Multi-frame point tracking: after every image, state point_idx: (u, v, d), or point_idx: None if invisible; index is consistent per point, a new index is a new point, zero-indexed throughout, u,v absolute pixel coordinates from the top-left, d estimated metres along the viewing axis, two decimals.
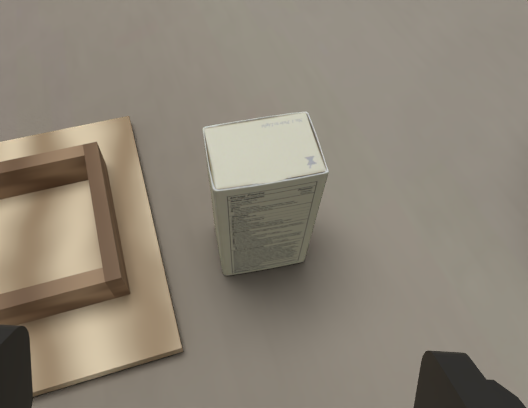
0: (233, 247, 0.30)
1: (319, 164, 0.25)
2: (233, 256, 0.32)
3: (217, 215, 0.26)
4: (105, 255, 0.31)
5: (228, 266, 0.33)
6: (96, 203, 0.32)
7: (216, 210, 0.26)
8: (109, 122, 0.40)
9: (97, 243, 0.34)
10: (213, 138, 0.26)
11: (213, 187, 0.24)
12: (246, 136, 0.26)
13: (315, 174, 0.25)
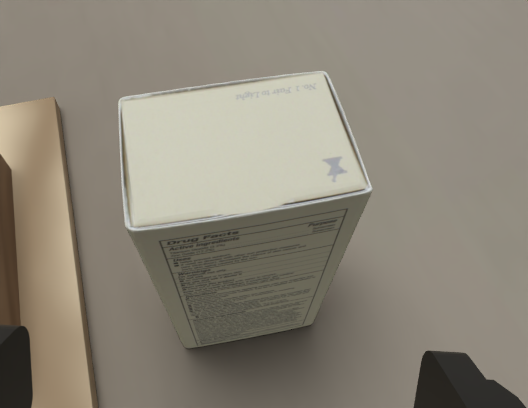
0: (192, 315, 0.17)
1: (352, 174, 0.12)
2: (194, 326, 0.19)
3: (149, 272, 0.14)
4: None
5: (189, 338, 0.20)
6: None
7: (145, 263, 0.13)
8: (23, 106, 0.27)
9: None
10: (137, 120, 0.13)
11: (127, 222, 0.11)
12: (204, 116, 0.13)
13: (345, 195, 0.12)
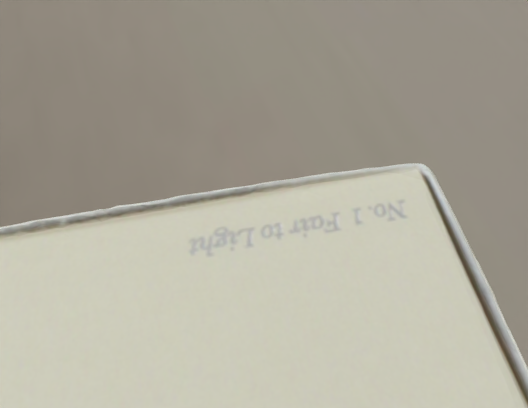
0: None
1: None
2: None
3: None
4: None
5: None
6: None
7: None
8: None
9: None
10: None
11: None
12: (93, 317, 0.04)
13: None
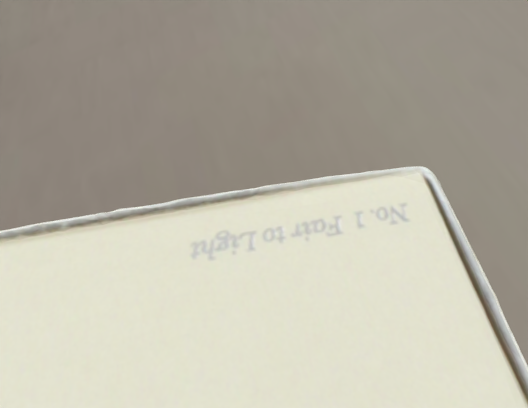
0: None
1: None
2: None
3: None
4: None
5: None
6: None
7: None
8: None
9: None
10: None
11: None
12: (94, 322, 0.04)
13: None
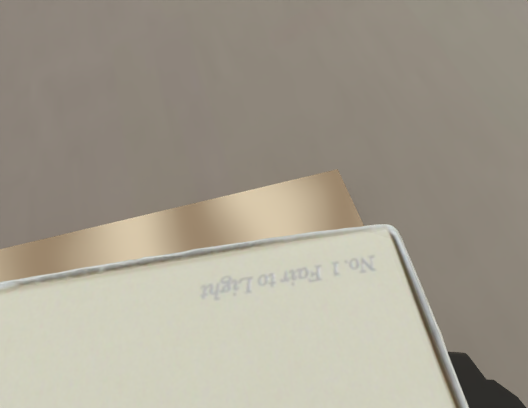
0: None
1: None
2: None
3: None
4: None
5: None
6: None
7: None
8: (305, 182, 0.21)
9: None
10: None
11: None
12: (124, 348, 0.06)
13: None
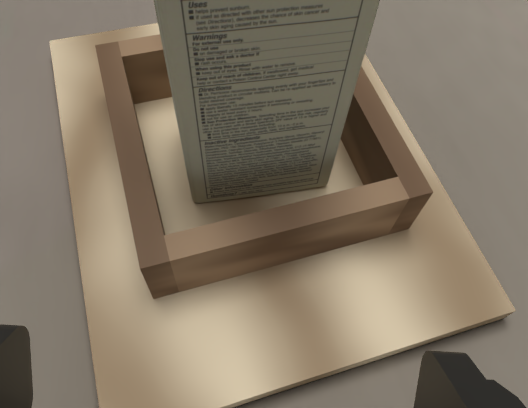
0: (204, 132, 0.17)
1: None
2: (205, 156, 0.18)
3: (161, 30, 0.13)
4: (395, 159, 0.19)
5: (199, 182, 0.19)
6: (355, 86, 0.21)
7: (158, 13, 0.12)
8: None
9: (336, 156, 0.22)
10: None
11: None
12: None
13: None
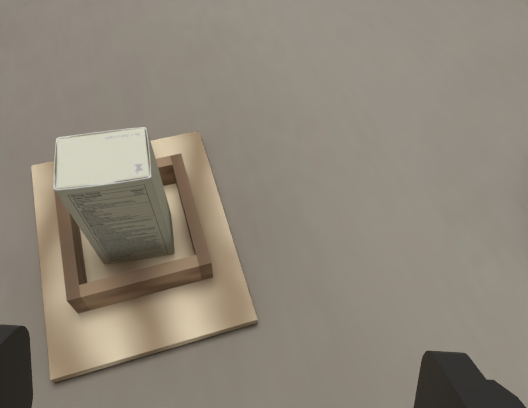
0: (97, 238, 0.36)
1: (144, 170, 0.31)
2: (101, 245, 0.37)
3: (68, 210, 0.32)
4: (197, 245, 0.38)
5: (102, 255, 0.39)
6: (186, 203, 0.40)
7: None
8: (183, 136, 0.48)
9: (182, 236, 0.42)
10: (63, 147, 0.31)
11: (54, 187, 0.30)
12: (90, 146, 0.32)
13: (140, 179, 0.31)
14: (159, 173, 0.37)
